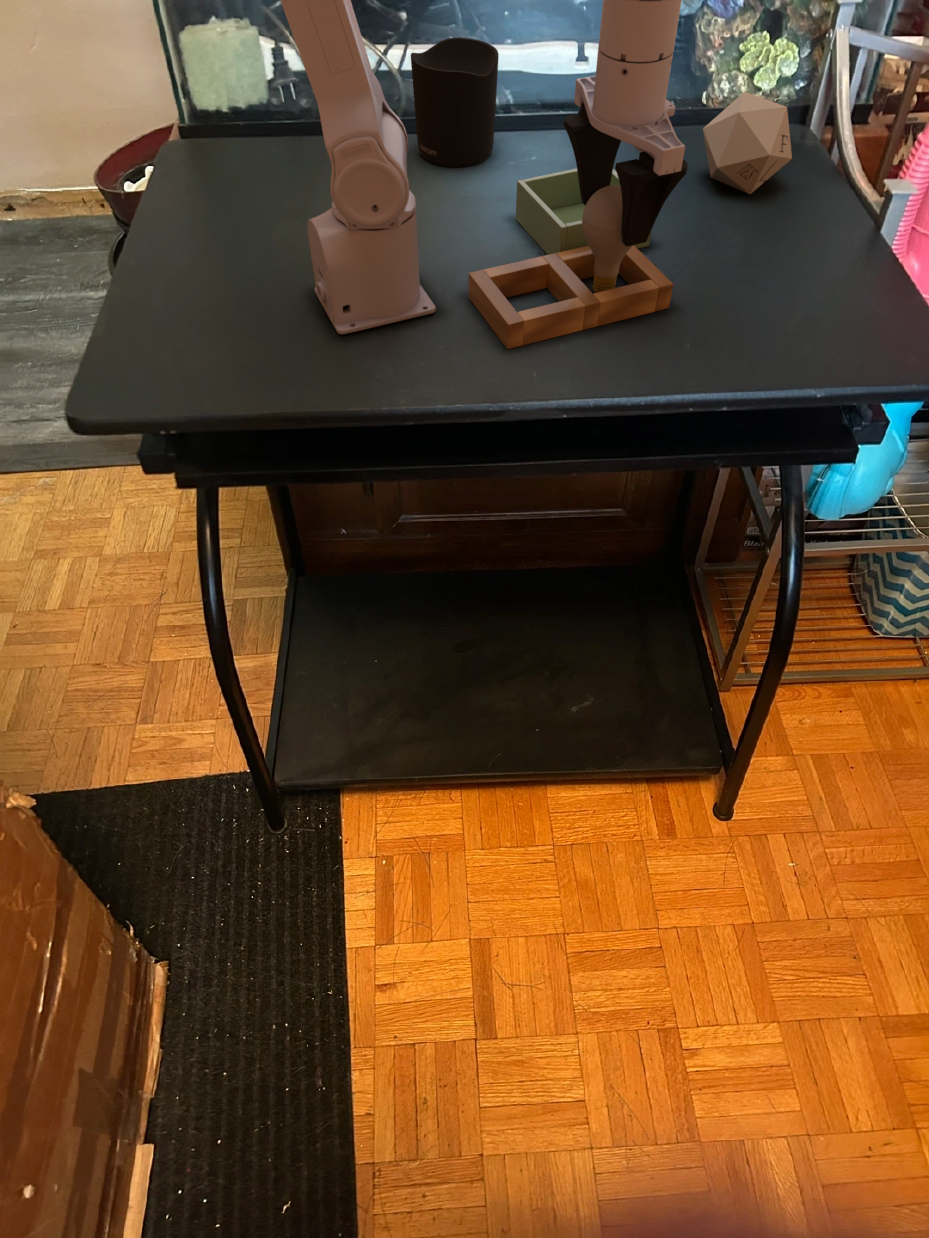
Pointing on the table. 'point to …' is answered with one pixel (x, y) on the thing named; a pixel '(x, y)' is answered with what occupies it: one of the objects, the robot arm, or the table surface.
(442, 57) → the pen holder
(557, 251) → the basin
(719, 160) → the die
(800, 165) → the table surface
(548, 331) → the frame
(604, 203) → the light bulb
